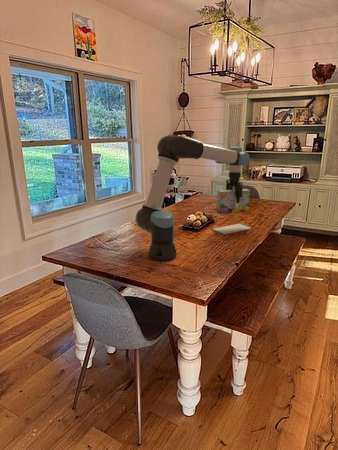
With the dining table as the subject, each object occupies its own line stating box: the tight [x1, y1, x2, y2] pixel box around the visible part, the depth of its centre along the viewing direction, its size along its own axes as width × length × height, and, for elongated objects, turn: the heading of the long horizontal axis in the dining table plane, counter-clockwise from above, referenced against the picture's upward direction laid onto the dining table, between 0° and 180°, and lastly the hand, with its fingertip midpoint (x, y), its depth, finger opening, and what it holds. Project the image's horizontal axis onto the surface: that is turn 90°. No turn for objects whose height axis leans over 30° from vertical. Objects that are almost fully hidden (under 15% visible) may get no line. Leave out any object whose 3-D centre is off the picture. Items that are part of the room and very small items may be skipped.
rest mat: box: [210, 222, 253, 236], centre depth 214 cm, size 12×26×1 cm, turn 120°
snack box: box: [216, 188, 251, 215], centre depth 209 cm, size 21×6×15 cm, turn 106°
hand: (232, 206), depth 210 cm, fingers closed on snack box, 6 cm apart
